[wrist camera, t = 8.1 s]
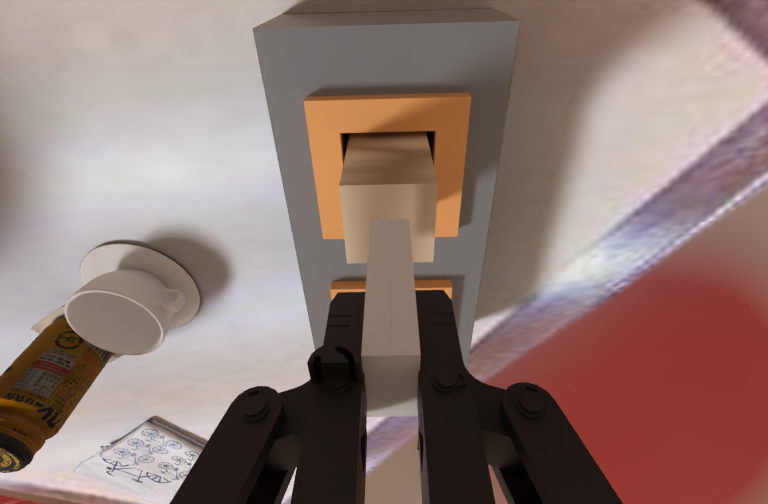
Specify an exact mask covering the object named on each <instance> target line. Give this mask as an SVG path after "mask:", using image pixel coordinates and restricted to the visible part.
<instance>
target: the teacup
mask: <svg viewBox="0 0 768 504" xmlns="http://www.w3.org/2000/svg"><path fill="white" fill-rule="evenodd" d="M80 278H81V282H82V284H83V287H82V288H81V289H80V290H78V291H77V292H76V293H75V294H73V295H72V296H71V297H70V298H69V299H68V300H67V302H66V304H65V309H64V312H65V317H66V319H67V322H68V323H69V325H70V326H71V328H72V329H73V330H74V331H75V332H76V333H77V334H78V335H79V336H80V337H82V338H83V339H84V340H86V341H87V342H89V343H91V344H93V345H94V346H97V347H99V348H101V349H104V350H106V351H109V352H113V353H117V354H123V355H141V354H146V353H149V352H152V351H154V350H156V349H157V348H158V347H159V346H160V345H161V344H162V342H163V341H164V338H165V336H166V333H167V331H168V329H170V328H176V327H179V326H182V325H184V324H186V323H188V322H189V321H191V320H192V319H193V318H194V317H195V316H196V314H197V312H198V310H199V307H200V295H199V291H198V288H197V286H196V284H195V283H194V281H193V279H192V278H191V277H190V276H189V274H188V273H187V272H186V271H185V270H184V269H183V268H182V267H180V266H179V265H178V264H177V263H175V262H174V261H173V260H171V259H169V258H168V257H166V256H164V255H162V254H160V253H158V252H156V251H154V250H151V249H148V248H145V247H142V246H138V245H132V244H122V243H116V244H107V245H103V246H100V247H97V248H95V249H93V250H91V251H90V252H89V253H88V254H87V255H86V256H85V257H84V258H83V260H82V262H81V265H80Z"/></svg>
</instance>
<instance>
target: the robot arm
mask: <svg viewBox="0 0 768 504" xmlns="http://www.w3.org/2000/svg"><path fill="white" fill-rule="evenodd" d="M307 364H308V368H309V373H310V378H311V379H310V380H309V381H308V382H306V383H305V384H303V385H301V386H299V387H297V388H294V389H291V390H287V391H284V392H281V393H277V391H276V390H274V389H272V388H270V387H268V386H257V387H254V388H250V389H247V390H246V391H244V392H243V393H241V394H240V395H238V396H237V398H236V399H235V400H234V401H233V402H232V403H231V405H230V407H229V408H228V410H227V412H226V413H225V415H224V416H223V418H222V420H221V421H220V423H219V424H218V426H217V428H216V429H215V431H214V433H213V434H212V436H211V437H210V439H209V441H208V442H207V444H206V446H205V447H204V449H203V450H202V452H201V454H200V455H199V457H198V458H197V460H196V462H195V463H194V465H193V467H192V468H191V470H190V471H189V473H188V475H187V476H186V478H185V479H184V481H183V483H182V484H181V486H180V488H179V489H178V491H177V492H176V494H175V496H174V497H173V499H172V501H171V502H170V504H281V502H282V500H283V497H284V495H285V492H286V490H287V488H288V485H289V483H290V480H291V478H292V476H293V473H294V471H295V468H296V467H297V470H296V475H295V481H294V487H293V492H292V498H291V504H364V501H365V500H364V499H365V476H366V451H367V430H366V419H367V417H380V416H418V424H419V428H418V450H419V458H420V474H421V490H422V504H495V499H494V494H493V489H492V483H491V478H490V473H489V469H488V464H489V465H491V466H492V468H493V471H494V473H495V475H496V478H497V480H498V482H499V484H500V487H501V489H502V491H503V493H504V496H505V498H506V500H507V502H508V504H623V503H622V501H621V500H620V499H619V497H618V496H617V494H616V493H615V491H614V489H613V488H612V486H611V485H610V483H609V482H608V480H607V479H606V477H605V476H604V474H603V473H602V471H601V470H600V468H599V466H598V465H597V463H596V462H595V460H594V459H593V457H592V456H591V454H590V453H589V451H588V450H587V448H586V447H585V445H584V444H583V442H582V441H581V439H580V438H579V436H578V435H577V433H576V432H575V430H574V428H573V427H572V425H571V424H570V422H569V421H568V419H567V418H566V416H565V415H564V413H563V412H562V410H561V409H560V407H559V406H558V404H557V403H556V401H555V400H554V399H553V398H552V396H551V395H550V394H549V393H548V392H547V391H546V390H544V389H542V388H541V387H539V386H537V385H534V384H530V383H516V384H513V385H511V386H509V387H508V388H507V390H504V389H501V388H497V387H494V386H489V385H487V384H485V383H482V382H480V381H479V380H477V379H475V378H474V377H473V376H472V375H471V374H470V373H469V372H468V370H467V369H466V367H465V365H464V362H463V358H462V352H461V347H460V342H459V337H458V331H457V326H456V321H455V316H454V310H453V305H452V300H451V299H450V298H449V296H448V295H447V294H446V293H445V291H444V290H415V282H414V270H413V259H412V247H411V235H410V223H409V219H370V231H369V246H368V261H367V276H366V291H365V292H338V293H337V294H336V296H335V297H334V299H333V300H332V301H331V303H330V307H329V313H328V319H327V325H326V331H325V337H324V343H323V346H321V347H319V348H317V349H316V350H315V351H314V352H313V353H312V354H311V356H310V358H309V360H308V363H307Z"/></svg>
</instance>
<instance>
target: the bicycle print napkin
mask: <svg viewBox="0 0 768 504" xmlns="http://www.w3.org/2000/svg"><path fill="white" fill-rule="evenodd" d="M100 447H101V449H102V451H101V452H99V453H97V454H96V455H94V456H92V457H91V458H89V459H87V460H85V461H84V462H82V463H80V464H79V465H78V466H77V467H76V468H75V470H74V471H75V472H77V473H79V474H83V475H85V476H87V477H89V478H91V479H94V480H96V481H99V482H102V483H104V484H107V485H109V486H112V487H114V488H117V489H119V490H121V491H124V492H126V493H128V494H131V495H133V496H136V497H138V498H141V499H143V500H146V501H148V502H151V503H153V504H170V502H171V501H172V499H173V497H174V496H175V494H176V492H177V491H178V489H179V488H180V486H181V484H182V483H183V481H184V479H185V478H186V476H187V475H188V473H189V471H190V470H191V468H192V467H193V465H194V463H195V462H196V460H197V458H198V457H199V455H200V454H201V452H202V450H203V449H204V447H205V445H203V444H201V443H199V442H198V441H196V440H194V439H192V438H190V437H188V436H186V435H184V434H182V433H180V432H178V431H176V430H174V429H172V428H170V427H168V426H166V425H164V424H161V423H159V422H157V421H156V420H154V419H152V420H151V421H150V422H146V423H144V424H142V425H141V426H140V427H139V428H137V429H136V430H134V431H133V432H132V433H130V434H129V435H127V436H126V437H124V438H123V439H121V440H119V441H118V442H116V443H114V444H113V445H111V446H109V447H107V446H103V447H102V446H100Z"/></svg>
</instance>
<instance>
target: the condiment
mask: <svg viewBox="0 0 768 504" xmlns="http://www.w3.org/2000/svg"><path fill="white" fill-rule="evenodd" d="M64 309H65V305H64V306H63V307H61V308H59V309H58V310H56V311H55V312H53V313H52V314H50V315H49V316H48V317H46V318H45V319H43V320H42V321H40V322H39V323H37V324H36V325H34V326H33V327H32V328H31V329H33V330H35V331H36V332H38V333H39V334H40V335H39V336H38V337H37V338H36V339H35V340H34V341H33V342H32V343H31V344H30V345H29V347H28V348H27V349H26V350H24V351H23V352H22V354H21V355H20V356H19V357H18V358H17V359H16V360H15V361H14V362H13V363H12V365H11V366H10V367H9V368H8V369H7V370H6V371H5V372H4V373H3V374H2V375H1V376H0V472H3V473H7V472H14V471H19V470H21V469H23V468H24V467H25V466H26V465H28V464H30V462H31V461H32V459H33V457H34V455H35V453H36V452H37V451H39V449H41V447H42V446H43V445H44V443H45V440H47V439H49V438H51V437H53V436H54V435H55V434H57V433H58V431H59V430H60V429H61V427H62V426H63V425H64V423H65V421H66V420H67V419H68V417H69V416H70V415H71V413H72V411H73V410H74V409H75V407H76V406H77V404H78V403H79V401H80V400H81V399H82V397H83V396H84V394H85V393H86V392H87V390H88V389H89V388H90V386H91V385H92V383H93V382H94V381H95V379H96V377H97V376H98V375H99V373H100V372H101V371H102V369H103V368H104V367H105V365H106V364H108V363H110V362H112V361H113V360H115V359H117V358H119V357H120V356H122V355H123V354H117V353H113V352H109V351H106V350H104V349H101V348H99V347H97V346H94V345H93V344H91V343H89V342H87V341H86V340H84V339H83V338H82V337H80V336H79V335H78V334H77V333H76V332H75V331H74V330H73V329H72V328H71V326H70V325H69V323H68V322H67V319H66V317H65V312H64Z"/></svg>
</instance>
